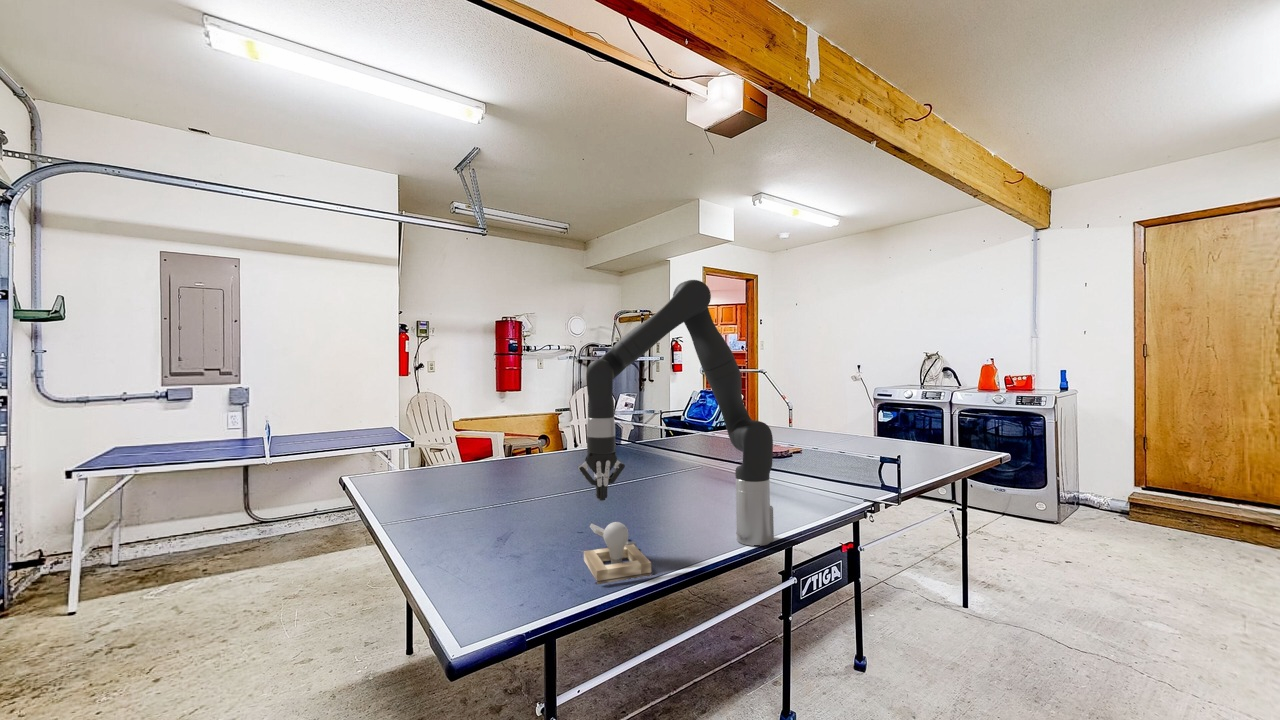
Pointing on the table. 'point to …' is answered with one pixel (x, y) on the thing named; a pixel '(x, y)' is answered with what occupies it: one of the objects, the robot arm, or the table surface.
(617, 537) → the lightbulb
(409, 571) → the table surface
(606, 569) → the socket
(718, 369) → the robot arm
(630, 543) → the keeper bracket
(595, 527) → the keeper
